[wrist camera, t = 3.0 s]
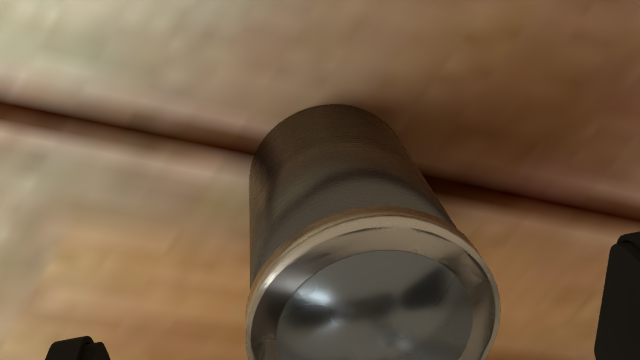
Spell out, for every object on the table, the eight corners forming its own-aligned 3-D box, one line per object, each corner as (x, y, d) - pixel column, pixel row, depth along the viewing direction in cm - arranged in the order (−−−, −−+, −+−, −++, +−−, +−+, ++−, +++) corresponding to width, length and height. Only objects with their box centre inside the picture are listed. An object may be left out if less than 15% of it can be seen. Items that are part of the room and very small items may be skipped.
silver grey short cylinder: (406, 88, 17) (503, 201, 10) (415, 236, 19) (499, 402, 13) (230, 117, 16) (220, 250, 10) (262, 263, 19) (269, 446, 12)
